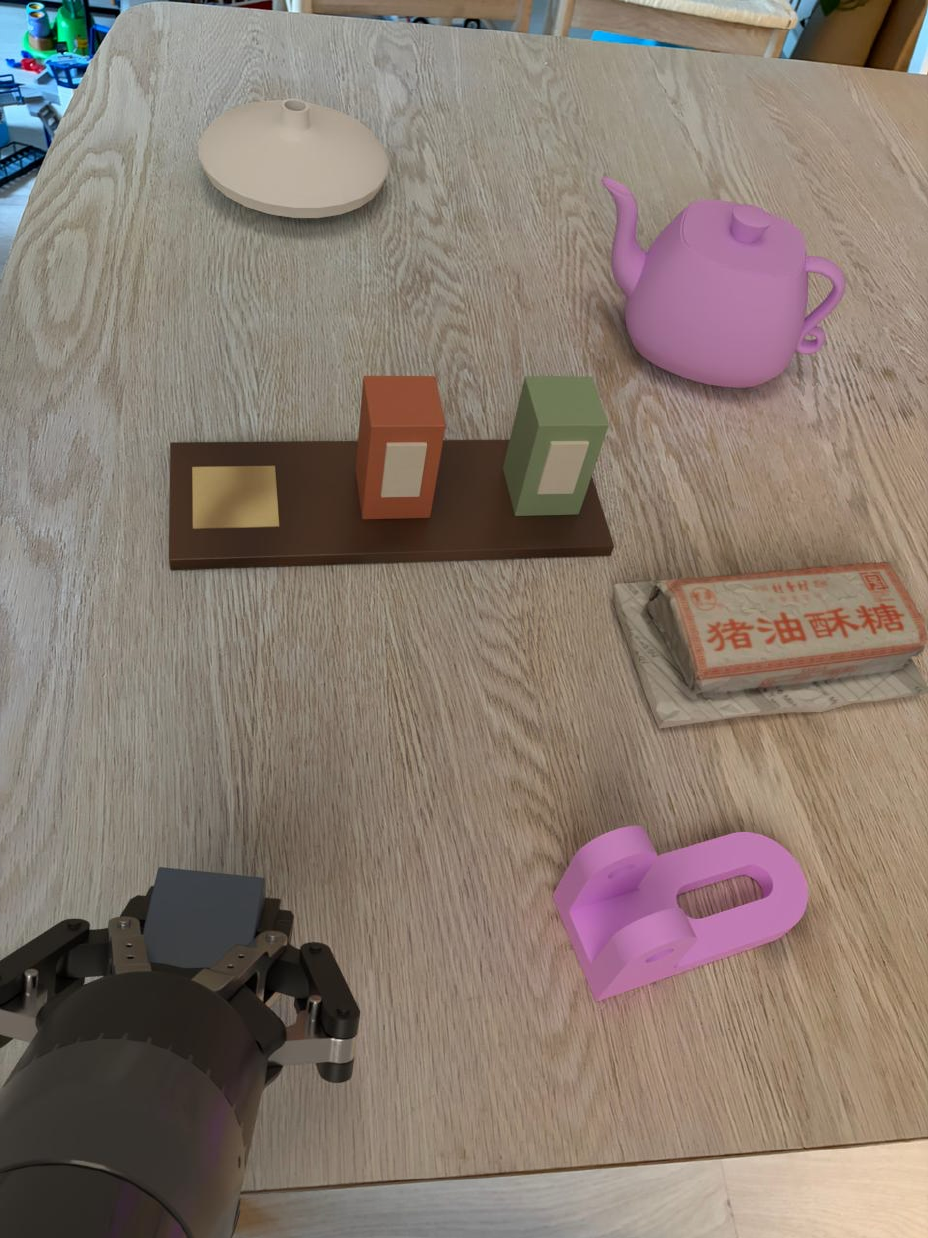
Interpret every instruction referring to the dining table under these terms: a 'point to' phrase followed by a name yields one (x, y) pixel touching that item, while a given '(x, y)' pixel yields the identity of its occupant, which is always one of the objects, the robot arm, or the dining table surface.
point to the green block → (554, 445)
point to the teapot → (719, 291)
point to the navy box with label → (201, 916)
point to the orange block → (399, 446)
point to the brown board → (354, 510)
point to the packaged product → (772, 641)
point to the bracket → (670, 905)
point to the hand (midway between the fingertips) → (214, 913)
